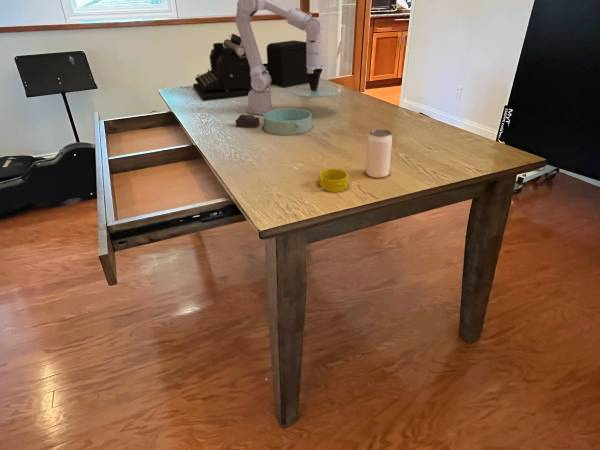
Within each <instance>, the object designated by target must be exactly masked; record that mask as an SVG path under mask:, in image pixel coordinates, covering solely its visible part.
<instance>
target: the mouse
mask: <svg viewBox="0 0 600 450" xmlns="http://www.w3.org/2000/svg"><path fill="white" fill-rule="evenodd" d="M259 125H260V117H258V116H257V117H255V116H254V114H240V115H239V116H238V118H237V119H235V127H236V128H252V129H255V128H257V127H258V126H259Z"/></svg>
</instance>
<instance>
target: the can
mask: <svg viewBox="0 0 600 450" xmlns="http://www.w3.org/2000/svg"><path fill="white" fill-rule="evenodd" d="M392 146H393V137H392V132H391V131H390V130H388V129H379V128H378V129H373V130H370V131H369V135H368V138H367V150H366V162H365V163H366V165H365V166H366V168H365V173H366V175H367V176H369V177H370V178H373V179H382V178H386V177H388V176H389V174H390V169H391V157H392Z"/></svg>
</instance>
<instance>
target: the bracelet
mask: <svg viewBox="0 0 600 450" xmlns="http://www.w3.org/2000/svg"><path fill="white" fill-rule="evenodd" d="M348 183H349V174H348V173H347V172H346V171H345V170H342V169H340V168H326V169H322V170H320V172H319V173H318V187H323V190H324V191H326V192H327V191H328V192H332V193H337V192H342V191H345V190H347V189H348V187H349V185H348Z"/></svg>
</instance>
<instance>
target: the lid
mask: <svg viewBox="0 0 600 450" xmlns="http://www.w3.org/2000/svg"><path fill="white" fill-rule="evenodd" d="M338 92H339V89H338V88H337V87H335V86H333V85H332V86H331V85H327V84H326V85H324V84H318V88H316V90H311V89H310V85H309V84H308V85H301V86H296V87H293V88H291V90H290V94H292V95H293V96H295V97H299V98H307V99H309V98H311V99H313V98H316V99H317V98H326V97H330V96H333V95H336V94H337V93H338Z"/></svg>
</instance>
